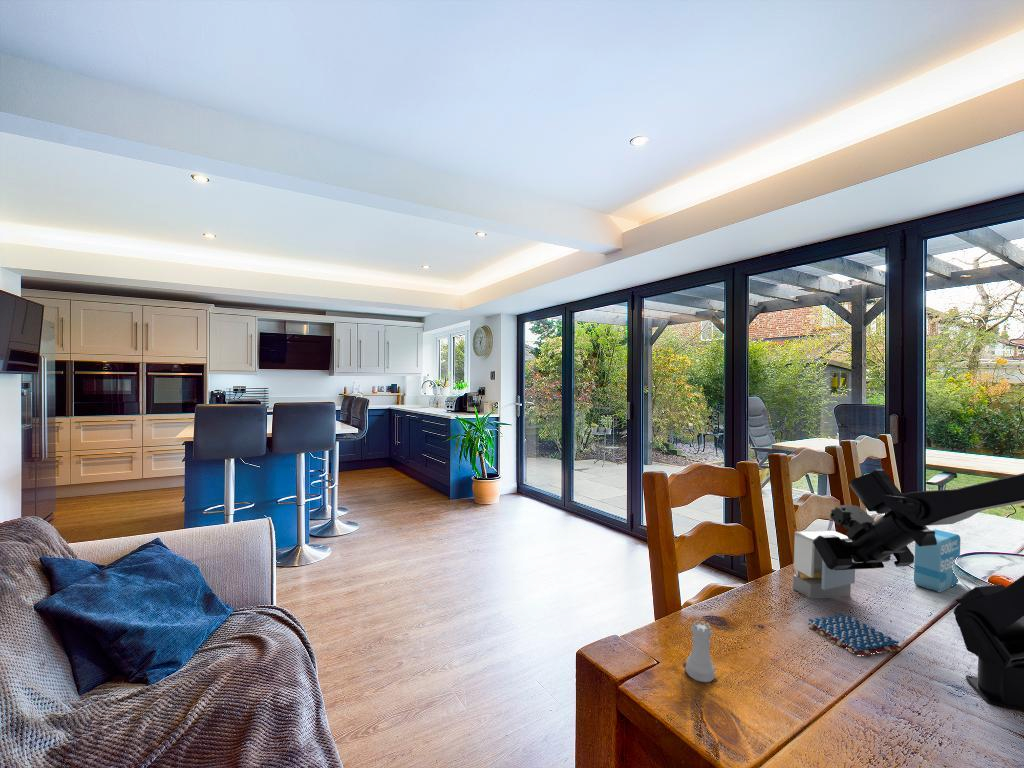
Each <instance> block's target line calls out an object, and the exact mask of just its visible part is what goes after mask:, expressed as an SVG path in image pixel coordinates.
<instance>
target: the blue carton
mask: <svg viewBox="0 0 1024 768" xmlns="http://www.w3.org/2000/svg"><path fill="white" fill-rule="evenodd" d="M932 531H935V537H936V540H937V545H933V546H922V547H920V546H918V545H917V543H916V542H915V541H914V542H915V543H914V563H913V565H914V567H913V583H914V584H915V585H916V586H919V587H922V588H924V589H925V588H926V589H927V590H931V589H932V590H931V591H934V590H935V591H934V592H937V591H938V592H937V593H941V592H943V591H945V590H947V589H946V588H948V587H950V586H952V585H954V586H956V585H957V584H958V582H959V580H958V579H957V577H956V576H955V574H954V573H953V570H952V562H953V560H954V559H956V558H957V557H959V556H960V557H961V536H960V535H959V534H956V533H953V532H948V531H944V530H941V529H940V530H939V529H936V528H935V529H932ZM956 583H957V584H956ZM955 584H956V585H955ZM952 587H953V586H952ZM950 588H951V587H950ZM944 589H945V590H944ZM948 589H949V588H948ZM942 590H943V591H942ZM940 591H941V592H940Z"/></svg>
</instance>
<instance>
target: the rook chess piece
mask: <svg viewBox="0 0 1024 768" xmlns="http://www.w3.org/2000/svg"><path fill="white" fill-rule="evenodd" d="M690 632H691V633H692V634H693V635H692V636H691V640H692V648H691V653H690V654H689V656H688V658H687V659H686V662H685V671H686V673H687V675H688V676H689V677H690V678H691V679H692V680H695V681H697V682H699V683H711V682H712V681H713V680H714V679H715V678H716V673H715V672H716V668H715V665H714V663H713V661H712V658H711V652H710V645H711V643H712V642H711V640H710V638H711V637H712V635H713V631H712V630H711V626H710V624H709V623H708V622H707V623H705V621H702V620H700V623H699V620H695V621H693V623H692V626H691V627H690Z"/></svg>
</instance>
